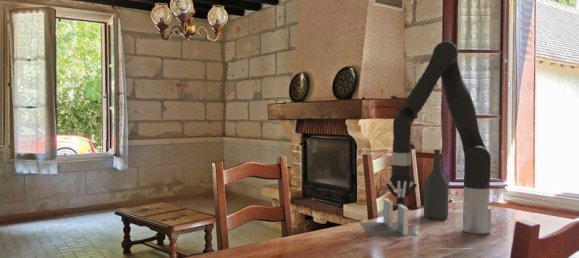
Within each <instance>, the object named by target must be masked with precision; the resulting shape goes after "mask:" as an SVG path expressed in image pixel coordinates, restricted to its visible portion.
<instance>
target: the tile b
mask: <svg viewBox="0 0 579 258" xmlns="http://www.w3.org/2000/svg"><path fill="white" fill-rule="evenodd" d="M397 222H398V225H397V229H398V231H399V232H400V233H401V234H403V235H408V228H409V208H408V207H407V206H406V205H405V204H404V205H402V204H398V205H397Z"/></svg>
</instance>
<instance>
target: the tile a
mask: <svg viewBox="0 0 579 258" xmlns="http://www.w3.org/2000/svg"><path fill="white" fill-rule="evenodd" d="M393 213H394V202H393V201H392V200H390V199H389V198H383V222H384V223H385V224H386V225H387V226H388V227H393V222H394V219H393V218H394V215H393Z"/></svg>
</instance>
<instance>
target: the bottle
mask: <svg viewBox="0 0 579 258" xmlns="http://www.w3.org/2000/svg"><path fill="white" fill-rule="evenodd" d="M433 150H434V151H433V152H434V153H433V154H434V155H433V161H432V170H431V172H430V173H429V175H428V176H427V178H426V179H425V180H424V182H423V187H424V188H423V216H424V218H425V219H427V220H433V221H445V220H447V219H448V218H449V193H450V192H449V189H450V185H449V181H448V180H447V178H446V176H445V175H444V174H443V172H442V166H441V154H440V152H441V150H440V149H433Z"/></svg>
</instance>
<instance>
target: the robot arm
mask: <svg viewBox="0 0 579 258" xmlns="http://www.w3.org/2000/svg"><path fill="white" fill-rule="evenodd" d="M458 51H459V50H458V48H457V46H456V45H455V44H454V43H453V42H452V41H448V40H447V41H442V42H440V43H438V44H436V46H434V49H433V51H432V55H431V57H430V60H429V62H428V64H427V65H426V67H425V70H424V71H423V74H422V75H421V76H420V78H419V79H418V80H417V82H416V83H415V85H414V86H413V88H412V89H411V92H410V93H409V95H408V96H407V98H406V100H405V101H404V104H403V106H402V107H401V109H400V110H399V111H398V113H397V114H396V116H395V117H394V119H393V122H392V128H393V130H392V132H393V136H392V137H393V139H392V155H391V171H390V172H391V176H390V178H389V181H387V182H384V185H385V187H386V188H387V190H388V191H389V192H390V194H391V195H392V196H394V197H395V199H396V200H395V203H396V206H398V204H402V205H404V206H405V198H406V197H409V196H410V195H411V193H413V191H414V190H415V188H417V184H416V183H415V182H413V181H412V178H411V174H412V173H411V172H412V171H411V168H412V165H411V164H412V157H411V156H412V155H411V145H412V144H411V143H412V142H411V135H412V125H413V122H414V121H415V119H416V117H417V115H418V114H419V113H420V112H421V110H422V109H423V107H424V106H425V104H426V102H427V101H428V100H429V97H430V96H431V94H432V92H433V90H434V88H435V86H436V85H437V83H438V81H439V80H440V79H441V81H442V86H443V91H444V96H445V100H446V104H447V107H448V111H449V114H450V117H451V119H452V122H453V124H454V127H455V129H456V130H457V132H458V134H459V137H460V141H461V145H462V151H463V158H464V162H463V163H464V165H463V167H464V168H463V171H464V172H463V202H462V203H463V207H462V209H463V210H462V212H463V214H462V231H463V232H465V233H469V234H474V235H476V234H477V235H485V234H491V232H492V208H491V207H490V186H491V185H490V183H491V169H492V168H491V164H492V163H491V161H492V159H491V158H492V157H491V154H490V152H489V150H488V149H487V147H486V145H485V143H484V140H483V138H482V136H481V133H480V130H479V129H480V128H479V124H478V122H479V121H478V117H477V111H476V108H475V105H474V101H473V99H472V96H471V94H470V93H471V92H470V91H469V88H468V86H467V85H466V83H465V81H464V79H463V77H462V74H461V72H460V68H459V63H458V62H459V61H458V55H459V52H458ZM392 186H393V188H394V189H393V188H392Z"/></svg>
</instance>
